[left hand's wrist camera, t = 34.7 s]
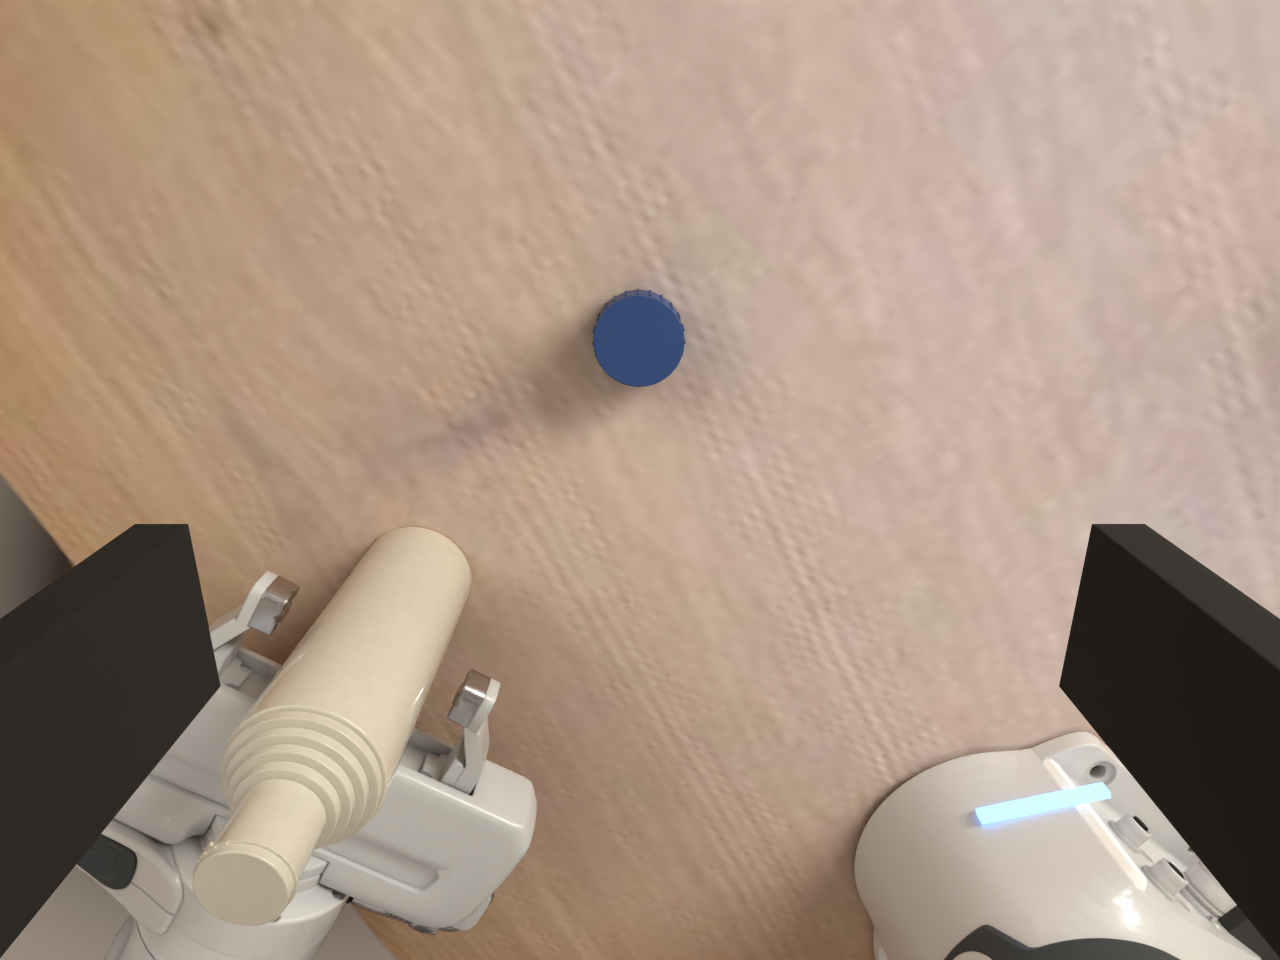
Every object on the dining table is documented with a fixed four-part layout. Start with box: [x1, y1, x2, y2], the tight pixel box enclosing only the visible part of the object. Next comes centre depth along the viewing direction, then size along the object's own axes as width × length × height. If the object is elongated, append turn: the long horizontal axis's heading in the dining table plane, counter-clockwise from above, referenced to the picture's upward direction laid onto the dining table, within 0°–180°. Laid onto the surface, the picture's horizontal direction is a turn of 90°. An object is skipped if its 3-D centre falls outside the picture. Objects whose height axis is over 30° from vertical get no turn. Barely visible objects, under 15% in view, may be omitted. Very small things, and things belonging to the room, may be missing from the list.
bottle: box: [192, 527, 472, 926], centre depth 32 cm, size 5×5×20 cm
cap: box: [593, 289, 685, 387], centre depth 37 cm, size 4×4×2 cm
